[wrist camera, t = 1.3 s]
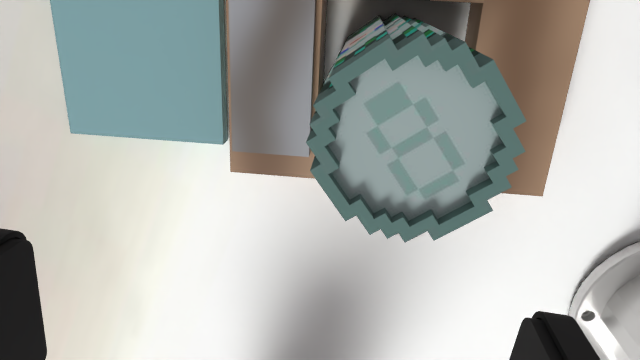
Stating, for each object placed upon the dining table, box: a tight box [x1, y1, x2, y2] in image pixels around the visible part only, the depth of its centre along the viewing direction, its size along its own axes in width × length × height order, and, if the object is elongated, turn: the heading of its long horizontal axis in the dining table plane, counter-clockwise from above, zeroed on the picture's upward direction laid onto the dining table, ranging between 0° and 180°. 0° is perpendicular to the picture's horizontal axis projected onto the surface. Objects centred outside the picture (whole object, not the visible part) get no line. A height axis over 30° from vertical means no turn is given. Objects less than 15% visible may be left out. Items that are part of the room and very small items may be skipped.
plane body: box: [226, 0, 590, 196], centre depth 26 cm, size 18×12×4 cm, turn 87°
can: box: [306, 14, 526, 242], centre depth 21 cm, size 6×6×15 cm
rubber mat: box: [50, 0, 228, 144], centre depth 28 cm, size 10×10×1 cm
